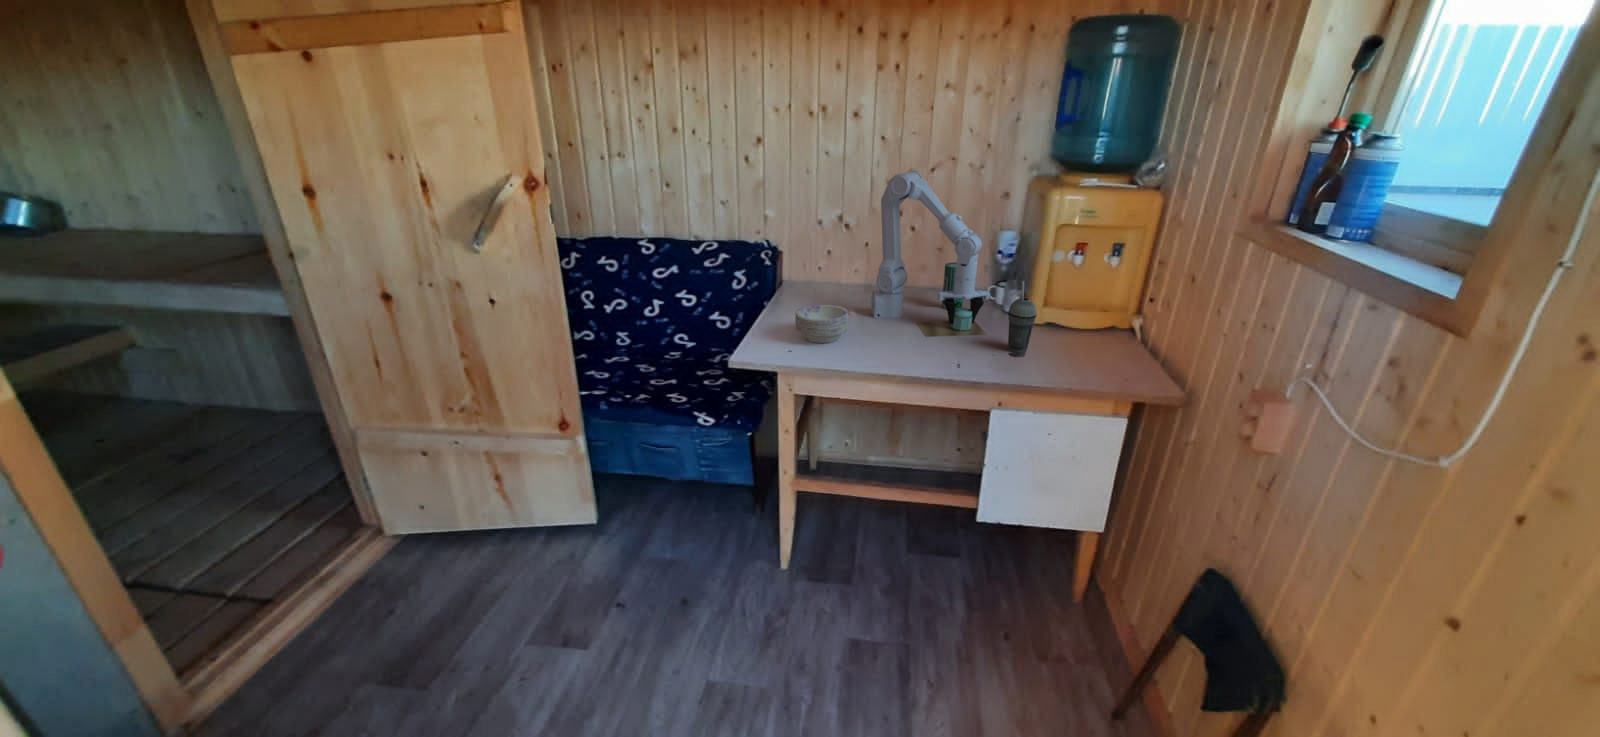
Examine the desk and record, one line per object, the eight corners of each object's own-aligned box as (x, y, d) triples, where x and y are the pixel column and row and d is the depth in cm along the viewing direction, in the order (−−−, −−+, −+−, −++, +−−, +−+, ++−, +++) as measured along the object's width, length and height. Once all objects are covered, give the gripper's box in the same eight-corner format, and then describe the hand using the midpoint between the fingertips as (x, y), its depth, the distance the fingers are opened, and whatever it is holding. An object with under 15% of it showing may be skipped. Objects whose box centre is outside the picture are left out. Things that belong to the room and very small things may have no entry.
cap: (954, 330, 189) (955, 314, 187) (949, 323, 194) (951, 307, 192) (972, 330, 189) (974, 313, 187) (967, 323, 194) (969, 307, 192)
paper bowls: (811, 325, 198) (811, 300, 195) (857, 334, 191) (858, 308, 188) (785, 341, 186) (785, 315, 183) (833, 351, 179) (833, 324, 176)
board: (925, 340, 186) (925, 336, 186) (915, 326, 197) (915, 322, 197) (987, 338, 187) (987, 334, 187) (973, 324, 198) (973, 320, 198)
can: (962, 313, 207) (967, 267, 201) (943, 313, 207) (947, 267, 201) (958, 307, 213) (963, 262, 207) (940, 307, 213) (943, 262, 207)
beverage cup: (1016, 361, 172) (1026, 287, 164) (996, 351, 178) (1005, 280, 170) (1036, 356, 175) (1047, 283, 167) (1016, 347, 181) (1026, 276, 173)
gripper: (944, 282, 182) (940, 328, 187) (995, 280, 183) (990, 326, 188) (937, 275, 188) (933, 320, 194) (986, 274, 189) (981, 318, 195)
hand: (961, 322), depth 191 cm, fingers closed on cap, 5 cm apart
